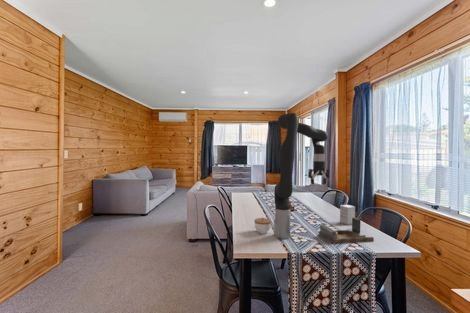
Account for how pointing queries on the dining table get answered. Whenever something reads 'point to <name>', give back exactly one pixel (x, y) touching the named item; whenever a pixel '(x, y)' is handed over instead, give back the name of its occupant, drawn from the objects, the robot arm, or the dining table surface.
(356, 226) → the press jaw
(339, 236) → the press base
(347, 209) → the supplement box
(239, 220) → the dining table surface
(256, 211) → the dining table surface
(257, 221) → the lidded jar
